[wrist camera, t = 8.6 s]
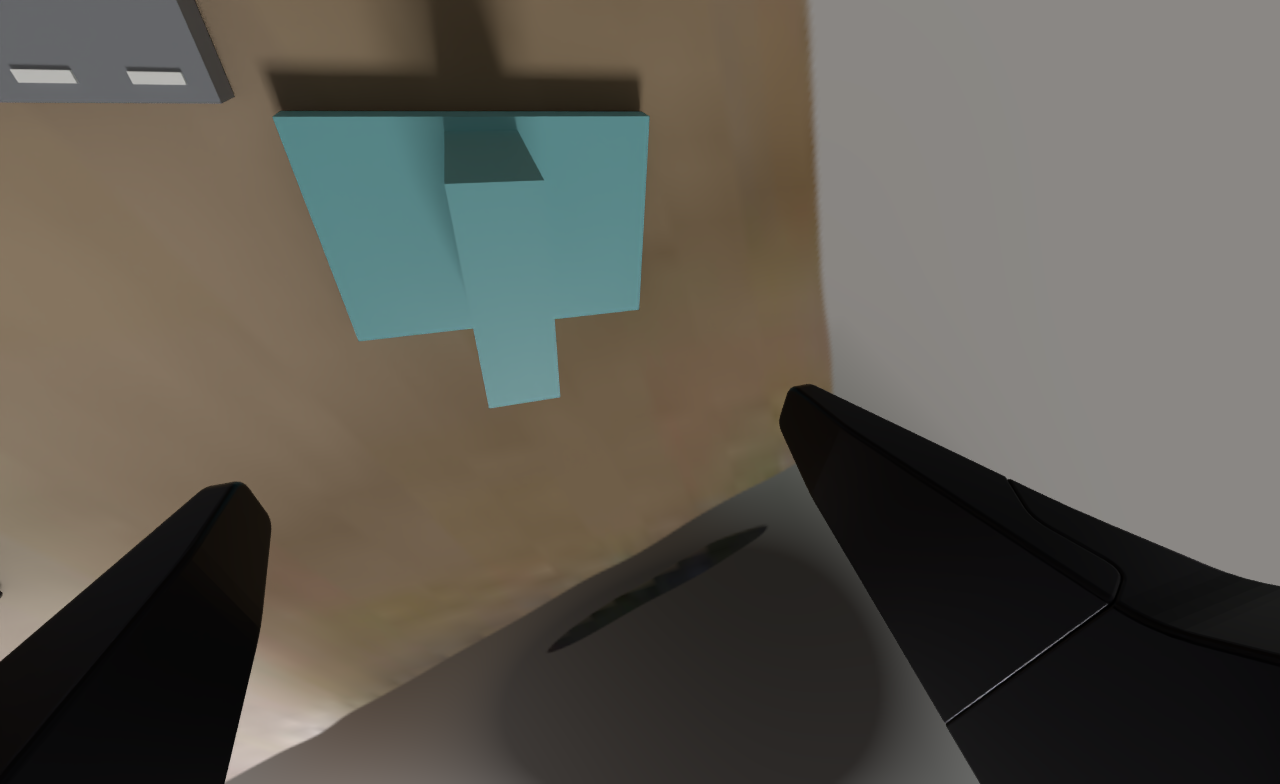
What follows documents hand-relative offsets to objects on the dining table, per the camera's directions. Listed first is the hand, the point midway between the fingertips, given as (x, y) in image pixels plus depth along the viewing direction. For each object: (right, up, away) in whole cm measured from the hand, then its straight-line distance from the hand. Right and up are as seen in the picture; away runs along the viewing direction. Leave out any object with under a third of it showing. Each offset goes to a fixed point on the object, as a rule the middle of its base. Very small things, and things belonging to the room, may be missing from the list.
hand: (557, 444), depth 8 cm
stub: (-4, +7, +8) cm, 11 cm away
